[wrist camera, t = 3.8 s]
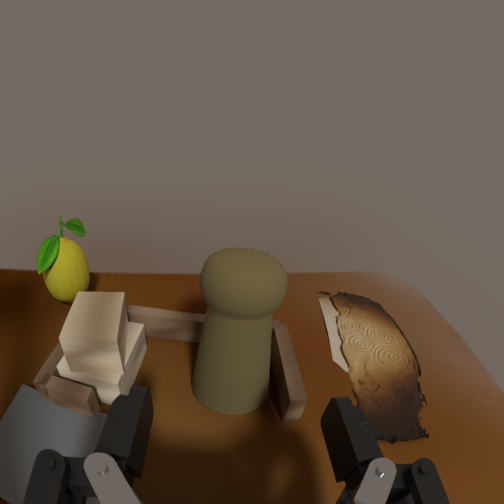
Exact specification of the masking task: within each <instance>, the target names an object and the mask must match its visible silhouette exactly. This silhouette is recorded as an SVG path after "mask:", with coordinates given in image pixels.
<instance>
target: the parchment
mask: <svg viewBox="0 0 504 504" xmlns="http://www.w3.org/2000/svg"><path fill="white" fill-rule="evenodd" d="M317 293H319V294H322V293H323V294H326V295H330V294H329V293H326V292H321V291H320V292H317ZM319 302H320V305H321V309H322V312H323V315H324V319H325V322H326V326H327V331H328V336H329V341H330V345H331V346H330V347H331V351H332V357H333V360H334V361H335V362H336V363H337V364H339V365H340V366H341V367H342V368H343V369H344V370H345V371H346V372H347V374H348V377H349V379H350V380H351V382H352V384H353V385H352V392H353V394H354V395H355V398H356V399H357V401H358V404H357V406H358V407H359V408H360V409H361V410H362V411H363V412H364V413H365V415H366V417H367V419H368V422H369V424H370V426H371V430H372V431H373V433H374V436H375V438H377V439H378V440H382V441H389V442H392V444H394V443H395V442H397V441H408V440H414V439H418V438H421V437H427V438H428V437H429V433H428V435H426V431H425V428H424V430H422V429H421V426H419V425H420V424H419V423H420V421H419V418H418V413H419V412H420V411H421V410H420V409H421V407H423V405H422V401H425V402H426V400H425V397H424V395H423V394H422V393H421V390H420V384H419V383H420V382H418V381H417V378H418V375H419V376H421V369H420V366H419V363H418V360H417V357H416V355H415V353H414V351H413V349H412V347H411V346H410V344H409V342H408V341H407V339H406V337H405V336H404V334H403V332H402V331H401V330H400V328H399V327H398V325H397V324H396V323H395V321H394V320H393V319H392V317H391V316H390V315H389V314H388V313H386V311H385V310H384V309H383V307H382V306H381V305H380V304H379V303H377V302H376V303H375V301H374V302H373V301H371V300H370V299H368V298H366V297H362V296H357V295H354V294H348V293H341V292H338V295H337V294H336V295H333V296H331V297H329V298H319ZM358 379H359V380H362V381H364V382H365V383H364V384H363V385H361V386H360V385H359V383H358ZM419 392H420V394H422V397H423V399H422V398H421V397H420V394H419ZM426 405H427V404H426ZM420 419H422V418H421V417H420Z"/></svg>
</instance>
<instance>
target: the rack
mask: <svg viewBox="0 0 504 504" xmlns="http://www.w3.org/2000/svg"><path fill="white" fill-rule="evenodd" d="M126 311H127V319H128V322H133V323H139V324H144V329H145V336H148V337H155V338H161V339H169V340H176V341H184V342H193V343H200V338H201V333H202V328H203V324H204V319H205V314H197V313H188V312H179V311H171V310H163V309H156V308H148V307H141V306H135V305H128V304H126ZM63 356H64V352H63V349H62V346H61V343H60V342H59V343H58V345H57V346H56V347H55V349H54V350H53V352H52V353H51V354H50V356H49V357H48V359H47V360H46V362H45V363H44V365H43V366H42V368H41V369H40V371H39V372H38V374H37V375H36V377H35V378H34V380H33V383H34V385H35V387H36V389H37V391H38V393H39V394H40V396H41V398H42V399H44V400H46V401H49V402H51V403H54V404H56V405H59V406H62V407H64V408H67V409H70V410H73V411H76V412H79V413H82V414H85V415H88V416H91V417H95V414H96V412H97V411H98V412H101V408H100V406H99V403H98V401H97V398H96V396H95V393H94V391H93V388H91V387H88V386H84V385H81V384H77V383H74V382H71V381H68V380H65V379H62V378H61V376H60V374H59V372H58V369H57V367H56V366H57V365H58V363H59V362H60V360H61V359H62V357H63ZM271 359H272V364H273V370H274V375H275V381H276V386H277V392H278V397H279V403H280V408H281V414H282V419H283V421H294V420H299V419H300V417H301V415H302V412H303V410H304V408H305V406H306V403H307V401H308V398H307V395H306V391H305V388H304V384H303V381H302V377H301V374H300V370H299V367H298V363H297V360H296V356H295V353H294V349H293V346H292V342H291V339H290V336H289V332H288V329H287V325H286V324H280V323H279V320H272V337H271Z"/></svg>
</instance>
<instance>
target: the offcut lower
mask: <svg viewBox="0 0 504 504" xmlns="http://www.w3.org/2000/svg"><path fill="white" fill-rule="evenodd" d="M146 349H147V346H146V338H145V329H144V324H139V323H133V322H128V329H127V340H126V352H125V368H124V375H120V374H93V373H78V372H70V369H69V366H68V364H67V361H66V358H65V355H64V356H63V357H62V359H61V360H60V362H59V363H58V365H57V366H56V367H57V369H58V372H59V374H60V376H61V378H62V379H65V380H68V381H71V382H74V383H77V384H81V385H84V386H88V387H91V388H93V391H94V393H95V396H96V398H97V401H99V402H103V403H106V404H110V405H111V404H112V402H113V401H114V400H115V399H116V398H117V397H118V396H119V395H120V394H123V395H127V396H128V394H129V391H130V388H131V386H132V385H133V384H134V381H135V379H136V376H137V373H138V371H139V368H140V365H141V363H142V360H143V357H144V355H145V352H146Z"/></svg>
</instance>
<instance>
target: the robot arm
mask: <svg viewBox="0 0 504 504" xmlns="http://www.w3.org/2000/svg"><path fill="white" fill-rule="evenodd" d="M152 420H153V404H152V399H151V394H150V389H149V388H146V387H141V386H136V385H132V386H131V388H130V391H129V394H128V396H127V395H123V394H120V395H119V396H118V397H117V398H116V399H115V400H114V401H113V402H112V404H111V407H110V410H109V413H108V415H107V418H106V421H105V424H104V426H103V429H102V432H101V435H100V438H99V441H98V444H97V447H96V449H95V451H94V452H93V453H92V454H90V455H88V456H86V457H66V456H62V455H61V454H60V453H59V452H57V451H55V450H53V449H44V450H42V451H40V452H39V453H38V454H37V456H36V459H35V462H34V465H33V469H32V472H31V475H30V479H29V482H28V486H27V490H26V494H25V498H24V502H23V504H86V499H87V497H98V499H99V501H100V503H101V504H143V502H142V501H141V499H140V498H139V496H138V495H137V493H136V492H135V490H134V489H133V487H132V483H133V478H134V477H135V478H139V479H141V474H142V468H143V463H144V458H145V453H146V448H147V443H148V438H149V434H150V429H151V425H152ZM321 428H322V432H323V435H324V439H325V442H326V446H327V450H328V453H329V457H330V460H331V464H332V467H333V471H334V475H335V478H336V482H342V481H345V483H346V486H345V487H344V489H343V491H342V493H341V495H340V496H339V498H338V500H337V502H336V504H450V503H449V500H448V498H447V495H446V492H445V490H444V487H443V485H442V482H441V479H440V477H439V474H438V472H437V470H436V467H435V465H434V463H433V462H432V461H431V460H429V459H426V458H420V459H418V460H416V461H415V462H414V463H413V464H394V463H393V462H392V461H391V460H389V459H387V458H384V456H383V455H382V453H381V450H380V448H379V445H378V443H377V441H376V438H375V436H374V433H373V431H372V430H371V426H370V424H369V422H368V419H367V417H366V415H365V413H364V412H363V411H362V410H361V409H360V408H359V407H358V406H354V407H353V405H352V402H351V400H350V398H349V397H336V398H332V399H331V400H330V402H329V404H328V406H327V407H326V409H325V411H324V413H323V415H322V417H321Z"/></svg>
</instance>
